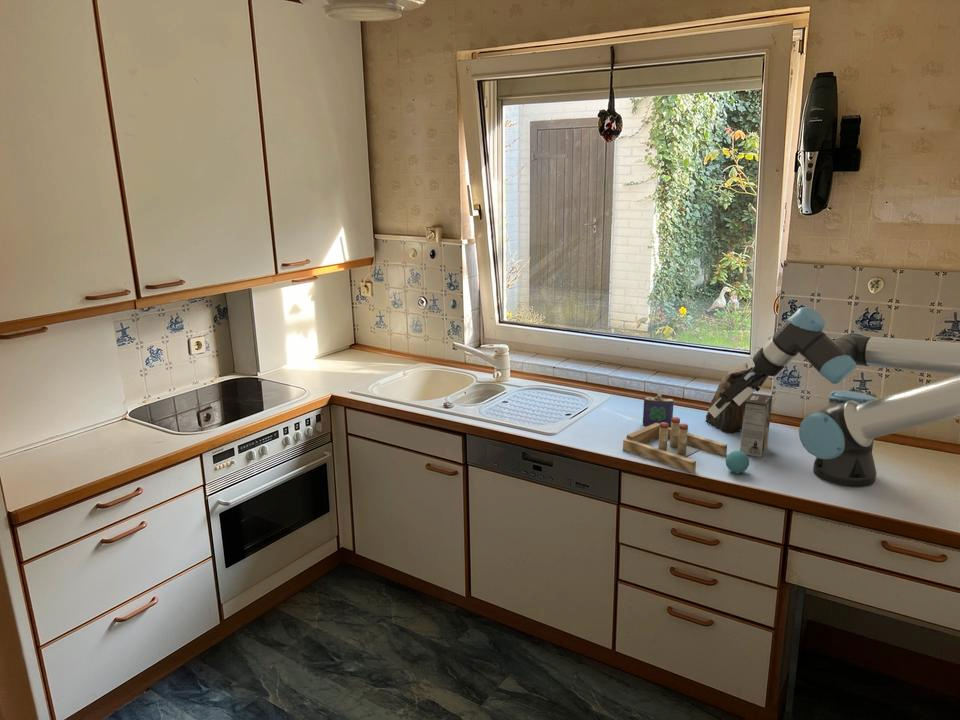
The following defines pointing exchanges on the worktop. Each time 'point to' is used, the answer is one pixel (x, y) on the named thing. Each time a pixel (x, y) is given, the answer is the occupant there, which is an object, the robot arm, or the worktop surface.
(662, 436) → the pin
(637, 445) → the lane
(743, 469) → the ball
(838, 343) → the robot arm
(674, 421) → the pin
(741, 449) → the coffee box
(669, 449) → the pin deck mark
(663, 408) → the flask
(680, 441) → the pin front
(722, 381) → the carved bird figurine
